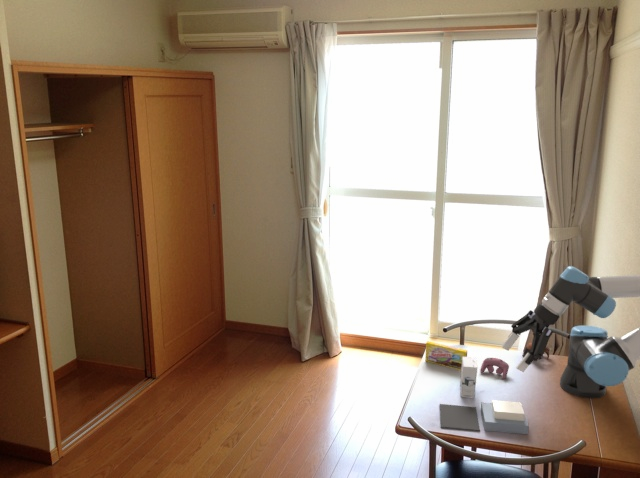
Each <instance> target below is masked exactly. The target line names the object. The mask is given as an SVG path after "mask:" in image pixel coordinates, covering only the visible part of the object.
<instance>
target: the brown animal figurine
mask: <svg viewBox="0 0 640 478" xmlns="http://www.w3.org/2000/svg"><path fill="white" fill-rule="evenodd" d="M531 346H532V341H531V342H528V343H527V344H526V346H525V348H524V350H523V352H522V357H523V358H524V357H525V355H526V354H527V353H528V352H530V351H531ZM550 351H551V349H550V348H549V347H548V346H546V348H545V351H544V353H545V354H546V355H547V356H546V360H549V357H550ZM534 352H535V351H534ZM538 360H540V359H539V358H535V359H534V360H533V362H538Z"/></svg>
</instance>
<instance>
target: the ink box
mask: <svg viewBox="0 0 640 478" xmlns="http://www.w3.org/2000/svg"><path fill="white" fill-rule="evenodd" d="M477 361H478V360H477V358H476V357H473V356H471V357H470V356H467V357H462V368H461V370H460V381H459V390H460V397H462V398H469V399H474V398H475V394H476V384H477V376H478V375H477V374H478V362H477Z"/></svg>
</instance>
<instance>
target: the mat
mask: <svg viewBox="0 0 640 478" xmlns="http://www.w3.org/2000/svg"><path fill="white" fill-rule="evenodd" d="M439 420H440V421H439V422H440V428H441V429H448V430H449V429H450V430H458V431H470V432H471V431H472V432H479V433H480V432H481V428H480V422H479V416H478V410H477V407H476V406H467V405H455V404H447V403H446V404H445V403H444V404H443V403H439Z"/></svg>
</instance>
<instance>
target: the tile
mask: <svg viewBox="0 0 640 478" xmlns="http://www.w3.org/2000/svg"><path fill="white" fill-rule="evenodd" d="M491 403H492V411H493V416H494V418H496V419H507V420H518V421H524V413H525V410H524V408H522V407H523V405H522V402H520V401H507V400H495V399H492V401H491ZM523 410H524V411H523Z"/></svg>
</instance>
